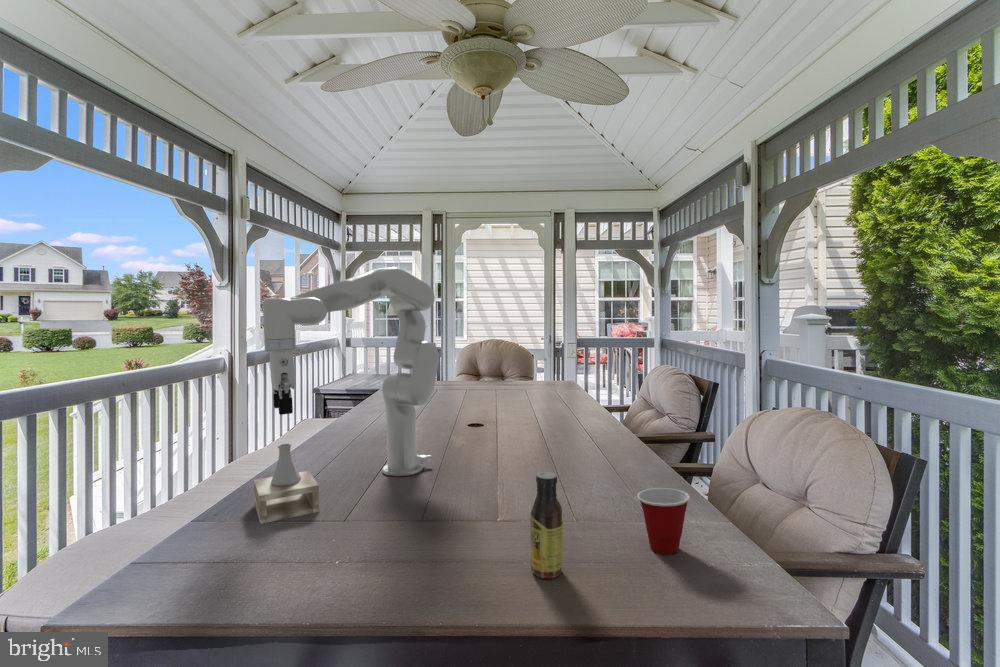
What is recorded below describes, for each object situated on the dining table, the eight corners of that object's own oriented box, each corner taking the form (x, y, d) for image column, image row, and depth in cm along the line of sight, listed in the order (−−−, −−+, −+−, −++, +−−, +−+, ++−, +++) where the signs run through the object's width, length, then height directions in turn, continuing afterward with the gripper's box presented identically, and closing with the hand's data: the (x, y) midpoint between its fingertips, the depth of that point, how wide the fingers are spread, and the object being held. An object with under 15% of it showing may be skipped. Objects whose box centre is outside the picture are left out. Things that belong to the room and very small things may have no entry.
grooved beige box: (309, 495, 147) (308, 470, 146) (319, 511, 135) (318, 485, 134) (254, 505, 140) (253, 479, 139) (260, 523, 128) (259, 495, 127)
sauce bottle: (528, 565, 105) (527, 469, 104) (559, 563, 106) (558, 467, 105) (533, 582, 99) (532, 480, 98) (566, 580, 99) (565, 478, 98)
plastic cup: (649, 533, 119) (649, 481, 118) (697, 546, 112) (697, 491, 112) (628, 550, 111) (628, 495, 110) (678, 566, 104) (678, 507, 103)
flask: (290, 487, 133) (288, 449, 132) (265, 486, 134) (263, 448, 134) (306, 478, 140) (304, 441, 139) (282, 477, 141) (280, 440, 141)
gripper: (301, 346, 129) (304, 414, 130) (290, 343, 144) (292, 403, 145) (268, 348, 126) (271, 418, 127) (260, 344, 140) (263, 407, 141)
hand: (283, 410), depth 136 cm, fingers open, 9 cm apart
